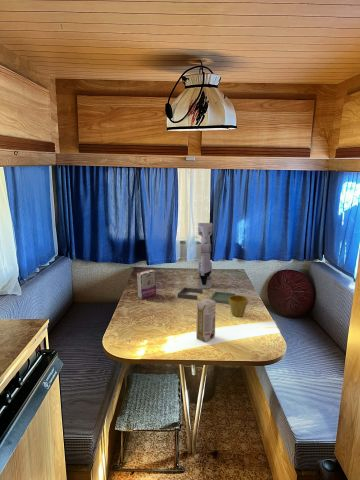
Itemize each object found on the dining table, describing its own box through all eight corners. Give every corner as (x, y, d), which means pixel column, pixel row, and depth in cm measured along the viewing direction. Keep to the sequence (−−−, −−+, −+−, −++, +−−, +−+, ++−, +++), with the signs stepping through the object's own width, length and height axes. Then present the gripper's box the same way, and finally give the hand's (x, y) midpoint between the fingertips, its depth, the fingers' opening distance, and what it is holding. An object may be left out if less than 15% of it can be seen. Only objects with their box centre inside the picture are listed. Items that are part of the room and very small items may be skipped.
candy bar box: (151, 293, 239) (151, 269, 236) (156, 295, 235) (155, 270, 232) (137, 297, 232) (136, 272, 229) (141, 299, 228) (141, 274, 225)
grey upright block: (199, 284, 235) (199, 275, 233) (212, 285, 232) (212, 276, 231) (197, 286, 230) (197, 277, 229) (210, 288, 228) (210, 279, 227)
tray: (214, 294, 237) (214, 291, 237) (235, 296, 233) (235, 293, 233) (209, 301, 225) (209, 298, 224) (231, 304, 221) (231, 301, 220)
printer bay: (184, 290, 244) (184, 287, 243) (202, 292, 240) (202, 289, 239) (177, 297, 232) (177, 293, 231) (197, 299, 228) (197, 296, 227)
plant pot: (245, 319, 199) (246, 302, 197) (226, 317, 202) (227, 300, 200) (248, 312, 209) (249, 296, 207) (230, 310, 212) (230, 294, 210)
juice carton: (217, 337, 179) (217, 300, 175) (206, 343, 172) (206, 305, 168) (204, 332, 184) (205, 296, 180) (193, 338, 177) (194, 301, 173)
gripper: (202, 259, 236) (202, 279, 239) (196, 265, 223) (195, 286, 225) (213, 260, 234) (212, 280, 237) (207, 266, 220) (206, 287, 223)
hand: (205, 283), depth 231 cm, fingers closed on grey upright block, 4 cm apart
